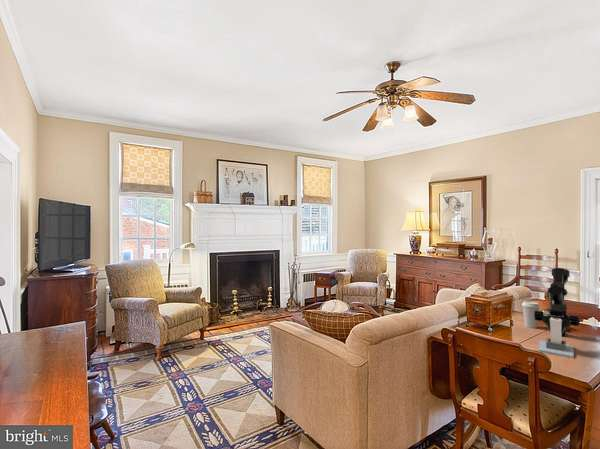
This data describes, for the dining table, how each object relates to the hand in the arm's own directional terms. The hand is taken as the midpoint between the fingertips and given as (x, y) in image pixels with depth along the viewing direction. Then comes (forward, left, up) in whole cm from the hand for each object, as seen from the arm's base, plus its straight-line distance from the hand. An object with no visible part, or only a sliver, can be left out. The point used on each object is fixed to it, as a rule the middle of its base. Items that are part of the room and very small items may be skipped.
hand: (555, 332), depth 176 cm
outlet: (-1, 0, -9) cm, 9 cm away
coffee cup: (-36, -22, -9) cm, 44 cm away
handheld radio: (-50, -12, -10) cm, 52 cm away
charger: (-1, 0, -7) cm, 7 cm away
